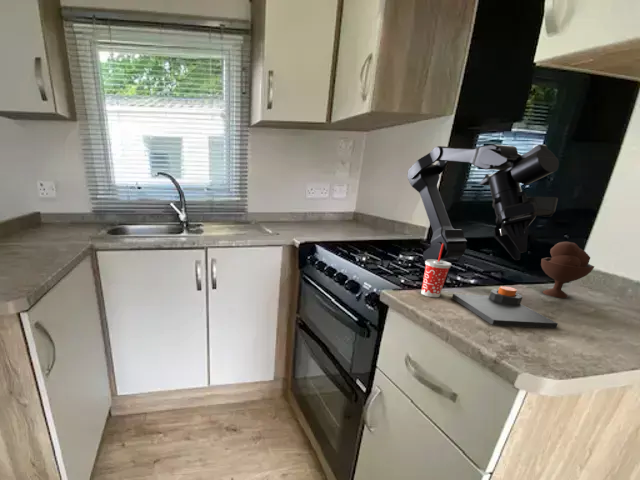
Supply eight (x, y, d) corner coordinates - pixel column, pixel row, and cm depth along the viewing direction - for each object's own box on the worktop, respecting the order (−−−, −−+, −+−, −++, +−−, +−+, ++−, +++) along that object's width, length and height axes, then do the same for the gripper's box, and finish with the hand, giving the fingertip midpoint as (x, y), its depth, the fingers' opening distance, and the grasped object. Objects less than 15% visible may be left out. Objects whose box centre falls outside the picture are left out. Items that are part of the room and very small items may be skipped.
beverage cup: (414, 290, 99) (425, 240, 94) (435, 290, 99) (448, 241, 94) (424, 297, 93) (437, 245, 88) (447, 298, 93) (461, 246, 88)
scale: (451, 297, 94) (454, 287, 93) (507, 300, 94) (510, 289, 93) (492, 325, 78) (496, 312, 77) (559, 328, 78) (564, 316, 77)
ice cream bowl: (562, 302, 94) (584, 247, 89) (521, 289, 104) (539, 238, 99) (590, 300, 97) (613, 246, 92) (547, 287, 107) (566, 238, 101)
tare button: (494, 292, 92) (496, 285, 91) (508, 292, 92) (510, 286, 91) (503, 297, 88) (505, 290, 88) (518, 297, 88) (520, 291, 88)
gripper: (559, 166, 74) (577, 238, 71) (541, 197, 90) (555, 256, 87) (494, 184, 79) (509, 250, 77) (488, 209, 95) (500, 265, 93)
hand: (520, 256), depth 83 cm, fingers open, 9 cm apart
